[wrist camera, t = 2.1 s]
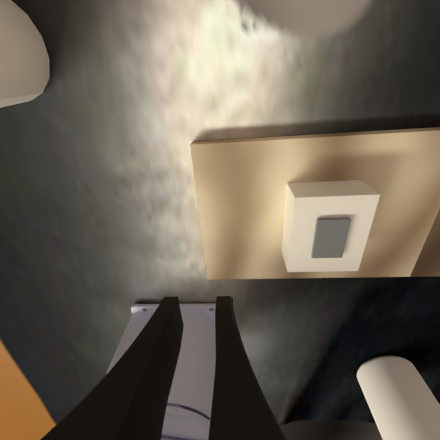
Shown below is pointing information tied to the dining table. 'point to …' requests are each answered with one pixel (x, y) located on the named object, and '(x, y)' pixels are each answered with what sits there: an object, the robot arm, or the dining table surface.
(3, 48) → the white cup
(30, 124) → the dining table surface
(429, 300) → the dining table surface
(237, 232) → the board
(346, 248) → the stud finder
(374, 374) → the can
